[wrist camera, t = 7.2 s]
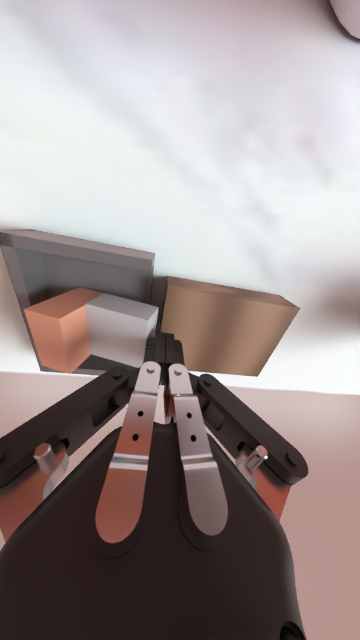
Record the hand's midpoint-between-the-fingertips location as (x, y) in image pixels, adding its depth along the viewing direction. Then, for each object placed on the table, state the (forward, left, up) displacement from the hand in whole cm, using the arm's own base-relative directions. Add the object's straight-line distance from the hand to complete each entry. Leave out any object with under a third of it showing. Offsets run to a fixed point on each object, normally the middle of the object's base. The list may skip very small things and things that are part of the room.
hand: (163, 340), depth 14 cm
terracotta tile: (-3, -5, 0) cm, 6 cm away
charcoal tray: (-3, -5, -4) cm, 7 cm away
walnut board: (+3, +5, -4) cm, 7 cm away
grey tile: (-2, -3, -2) cm, 4 cm away
